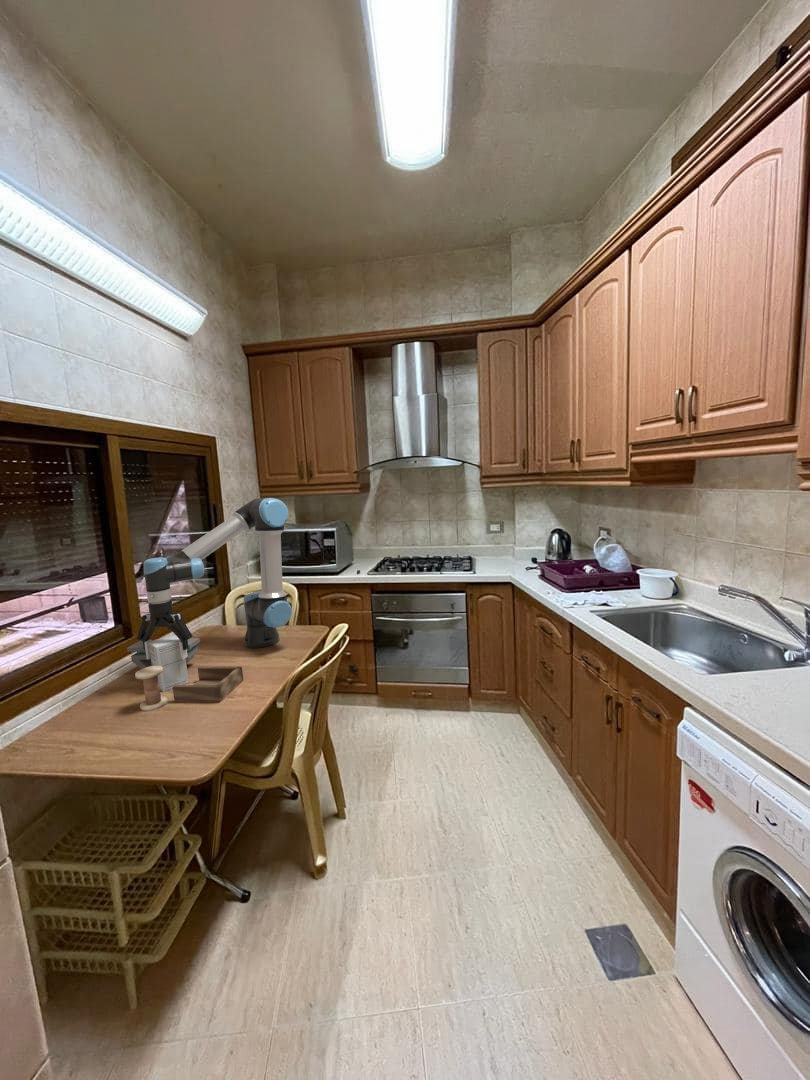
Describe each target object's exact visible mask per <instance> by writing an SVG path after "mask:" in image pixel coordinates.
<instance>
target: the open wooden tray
mask: <svg viewBox="0 0 810 1080" xmlns="http://www.w3.org/2000/svg"><path fill="white" fill-rule="evenodd" d="M197 673H198V680H197V681H196V682H195V683H193V684H184V685H174V686H173V687H172V688H173V689H172V692H173V693H172V695H173V702H174V703H221V702H222V701H223V700H225V698H227V696H228V695H230V693H232V692H233V691H234V690H235V689H236V688H237V687H238V686H239V685H240V684H242V682H243V681H244V674H243V666H199V667H197Z"/></svg>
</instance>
